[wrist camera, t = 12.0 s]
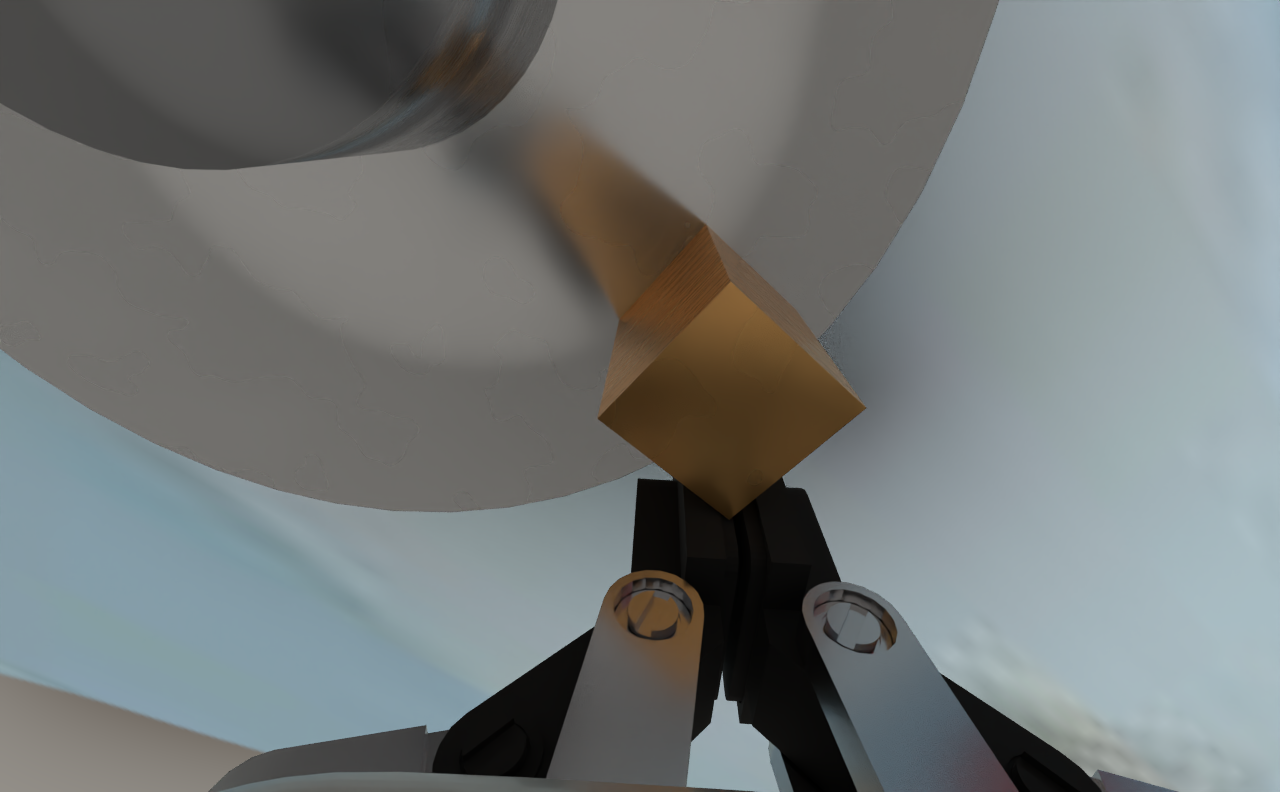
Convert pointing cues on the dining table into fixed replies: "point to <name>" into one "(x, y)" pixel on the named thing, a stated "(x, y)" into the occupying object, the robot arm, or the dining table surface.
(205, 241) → the turntable
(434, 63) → the cover
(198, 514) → the dining table surface
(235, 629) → the dining table surface
